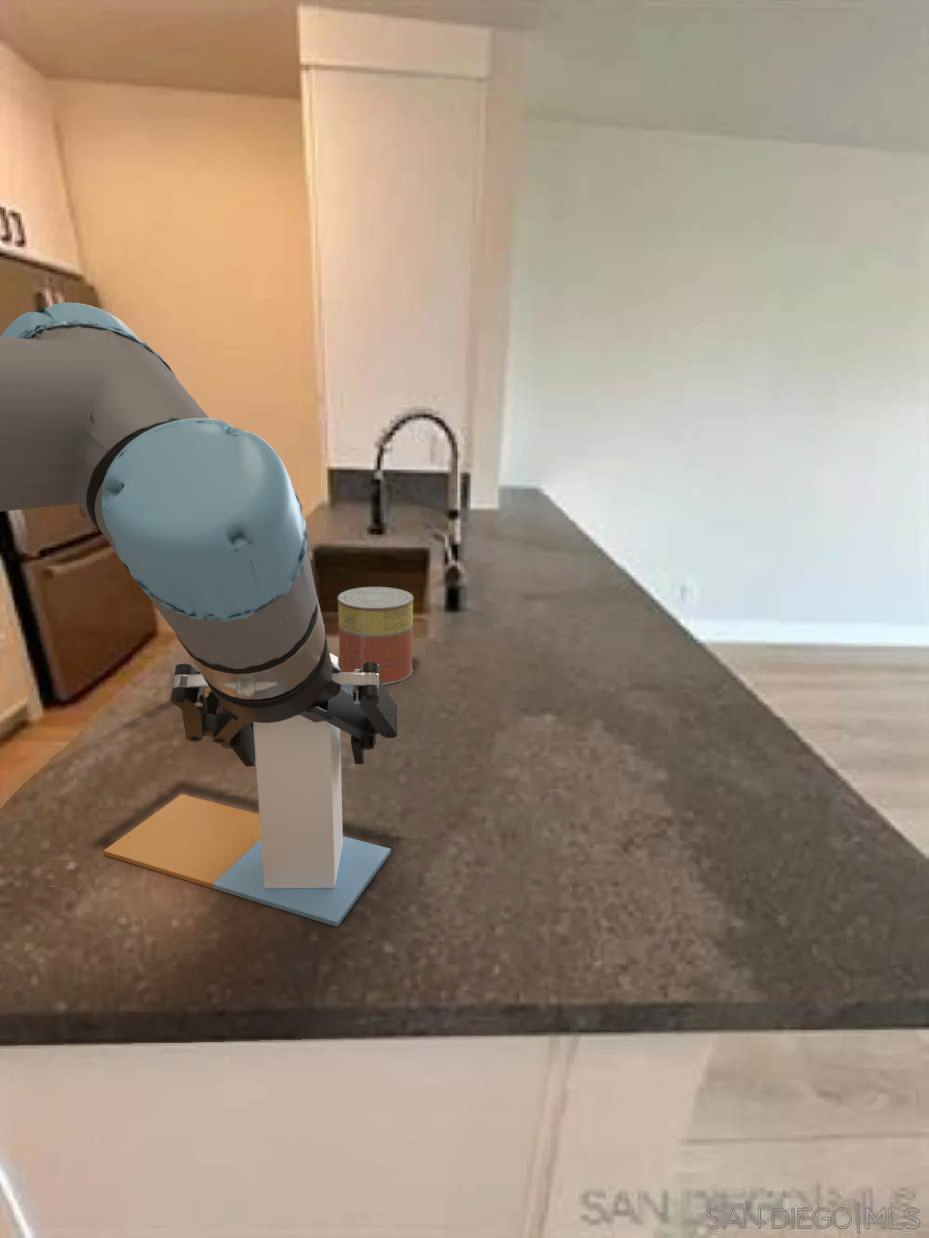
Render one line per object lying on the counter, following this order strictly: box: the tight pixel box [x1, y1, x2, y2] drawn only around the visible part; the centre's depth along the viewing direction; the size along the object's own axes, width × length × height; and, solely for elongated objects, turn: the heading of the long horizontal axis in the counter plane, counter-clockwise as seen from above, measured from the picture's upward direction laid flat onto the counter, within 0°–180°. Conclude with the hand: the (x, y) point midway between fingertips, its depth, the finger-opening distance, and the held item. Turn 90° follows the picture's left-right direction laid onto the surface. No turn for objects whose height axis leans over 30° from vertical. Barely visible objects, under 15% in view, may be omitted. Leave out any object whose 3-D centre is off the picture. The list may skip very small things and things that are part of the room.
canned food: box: [337, 586, 415, 686], centre depth 102 cm, size 11×11×12 cm
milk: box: [253, 652, 344, 889], centre depth 57 cm, size 6×6×22 cm
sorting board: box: [103, 793, 392, 928], centre depth 62 cm, size 24×10×1 cm, turn 70°
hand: (306, 750), depth 60 cm, fingers open, 9 cm apart
